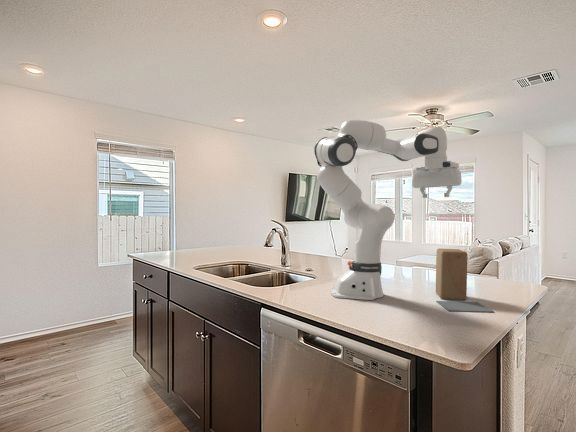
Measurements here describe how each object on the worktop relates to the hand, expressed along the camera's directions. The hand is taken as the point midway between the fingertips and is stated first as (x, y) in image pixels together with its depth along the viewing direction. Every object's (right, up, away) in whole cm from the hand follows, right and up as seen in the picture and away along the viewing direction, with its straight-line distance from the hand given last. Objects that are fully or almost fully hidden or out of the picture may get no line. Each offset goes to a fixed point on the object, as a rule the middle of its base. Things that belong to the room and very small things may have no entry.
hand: (435, 197), depth 144 cm
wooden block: (+5, -43, -4) cm, 43 cm away
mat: (+3, -43, -18) cm, 46 cm away
